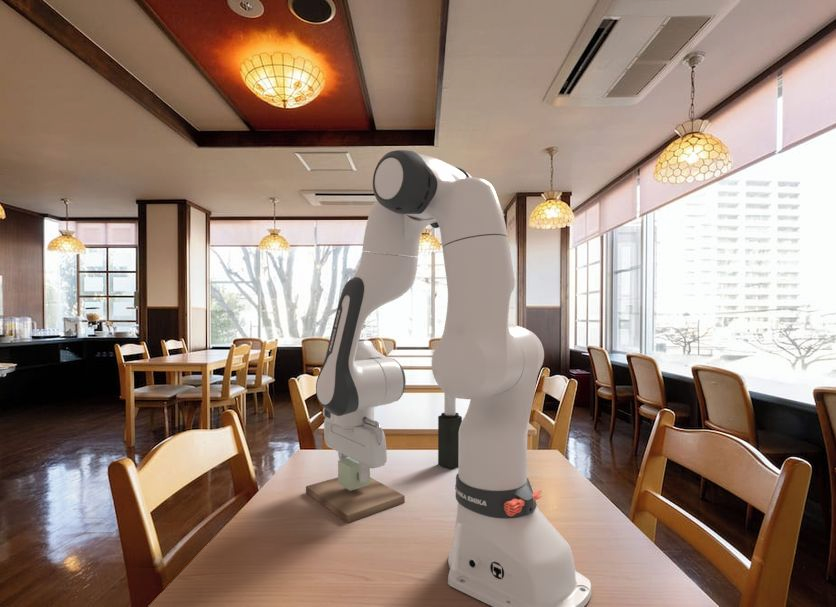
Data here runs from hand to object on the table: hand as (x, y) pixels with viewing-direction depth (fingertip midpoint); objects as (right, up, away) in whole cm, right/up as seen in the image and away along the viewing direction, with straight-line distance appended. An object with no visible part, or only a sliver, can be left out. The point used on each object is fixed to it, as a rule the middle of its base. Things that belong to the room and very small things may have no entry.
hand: (354, 476), depth 99 cm
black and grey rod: (+22, -5, +20) cm, 30 cm away
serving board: (0, -5, 0) cm, 5 cm away
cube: (0, -2, 0) cm, 2 cm away
